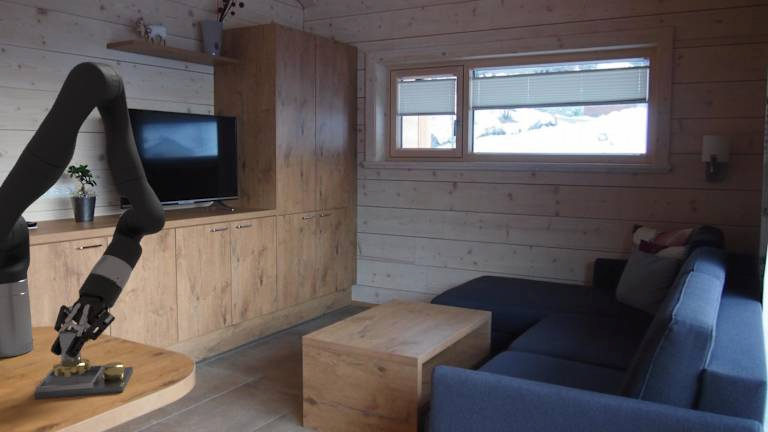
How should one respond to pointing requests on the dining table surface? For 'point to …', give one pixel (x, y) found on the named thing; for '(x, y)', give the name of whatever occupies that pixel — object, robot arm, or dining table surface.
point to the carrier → (86, 382)
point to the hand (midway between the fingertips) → (62, 354)
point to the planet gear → (69, 364)
